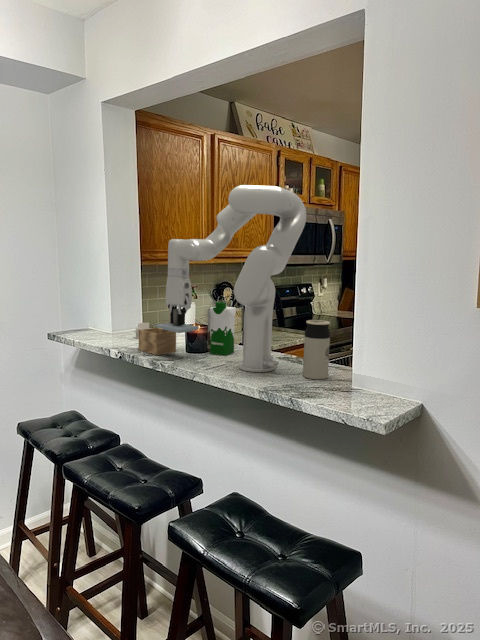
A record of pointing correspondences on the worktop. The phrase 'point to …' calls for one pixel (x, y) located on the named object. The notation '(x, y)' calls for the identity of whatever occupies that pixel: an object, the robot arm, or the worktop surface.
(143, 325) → the architectural model
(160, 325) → the lid
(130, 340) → the worktop surface
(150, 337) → the box
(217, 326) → the milk carton
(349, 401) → the worktop surface
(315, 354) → the travel mug
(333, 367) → the worktop surface
